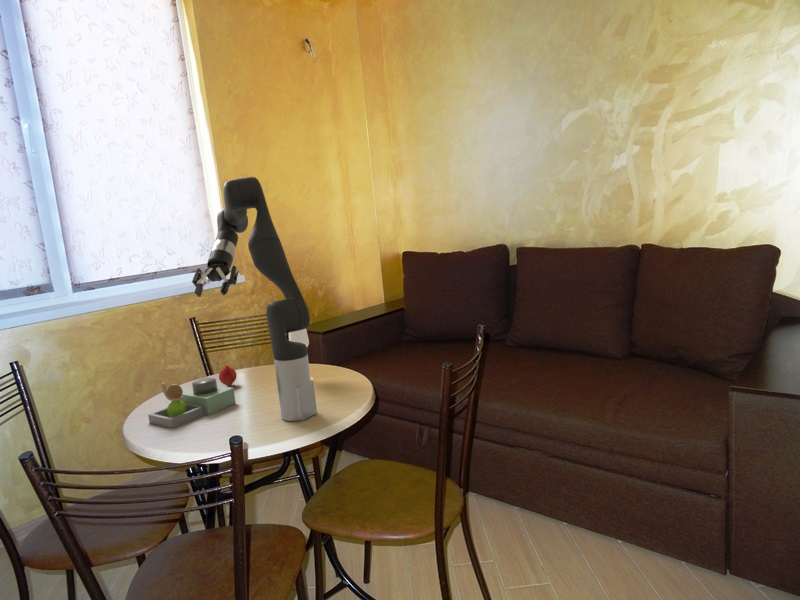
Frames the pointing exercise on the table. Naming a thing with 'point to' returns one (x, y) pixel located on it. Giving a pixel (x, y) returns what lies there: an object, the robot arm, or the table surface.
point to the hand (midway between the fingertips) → (210, 294)
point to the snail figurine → (174, 400)
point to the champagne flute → (300, 338)
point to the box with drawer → (197, 403)
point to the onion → (227, 375)
